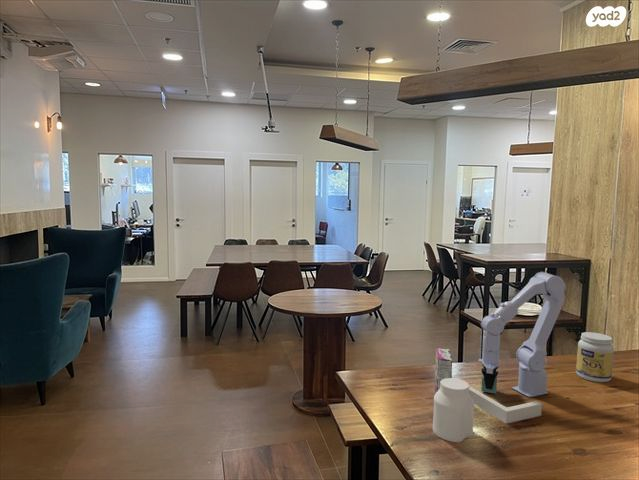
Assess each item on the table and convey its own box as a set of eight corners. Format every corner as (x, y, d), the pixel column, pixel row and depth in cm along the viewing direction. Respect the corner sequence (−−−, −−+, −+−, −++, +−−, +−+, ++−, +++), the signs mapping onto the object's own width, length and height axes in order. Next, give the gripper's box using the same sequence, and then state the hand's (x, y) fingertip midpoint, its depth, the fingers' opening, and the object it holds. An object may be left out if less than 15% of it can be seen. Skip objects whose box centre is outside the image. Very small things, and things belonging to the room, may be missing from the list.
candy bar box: (433, 391, 157) (435, 347, 156) (448, 393, 156) (449, 348, 155) (435, 405, 146) (437, 358, 145) (451, 407, 145) (453, 359, 144)
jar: (454, 445, 122) (456, 394, 121) (427, 431, 130) (429, 382, 129) (477, 432, 129) (480, 384, 128) (450, 419, 137) (452, 373, 136)
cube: (482, 385, 161) (482, 372, 161) (496, 388, 159) (497, 375, 159) (481, 391, 157) (482, 377, 156) (496, 393, 155) (496, 380, 154)
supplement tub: (575, 378, 171) (578, 337, 170) (576, 368, 181) (578, 329, 180) (612, 386, 165) (615, 342, 163) (611, 375, 175) (614, 334, 174)
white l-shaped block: (495, 390, 159) (495, 379, 159) (541, 415, 141) (541, 403, 140) (462, 396, 153) (462, 385, 153) (505, 423, 135) (506, 411, 135)
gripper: (480, 342, 165) (478, 376, 166) (478, 354, 151) (476, 391, 153) (500, 344, 162) (498, 379, 163) (499, 357, 149) (498, 395, 150)
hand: (489, 385), depth 158 cm, fingers closed on cube, 5 cm apart
